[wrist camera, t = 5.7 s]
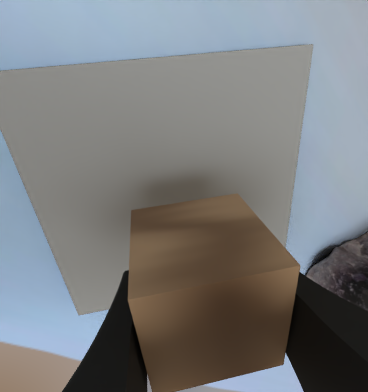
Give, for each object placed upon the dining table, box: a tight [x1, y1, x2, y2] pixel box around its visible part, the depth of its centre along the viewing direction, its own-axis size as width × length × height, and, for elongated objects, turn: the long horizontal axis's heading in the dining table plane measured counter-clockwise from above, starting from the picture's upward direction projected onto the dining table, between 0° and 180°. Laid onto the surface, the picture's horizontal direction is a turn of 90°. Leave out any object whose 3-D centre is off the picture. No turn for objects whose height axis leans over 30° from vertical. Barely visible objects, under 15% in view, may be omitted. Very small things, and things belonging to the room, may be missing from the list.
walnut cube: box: [128, 193, 300, 392], centre depth 10 cm, size 5×5×5 cm
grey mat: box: [0, 44, 313, 315], centre depth 17 cm, size 18×18×1 cm
